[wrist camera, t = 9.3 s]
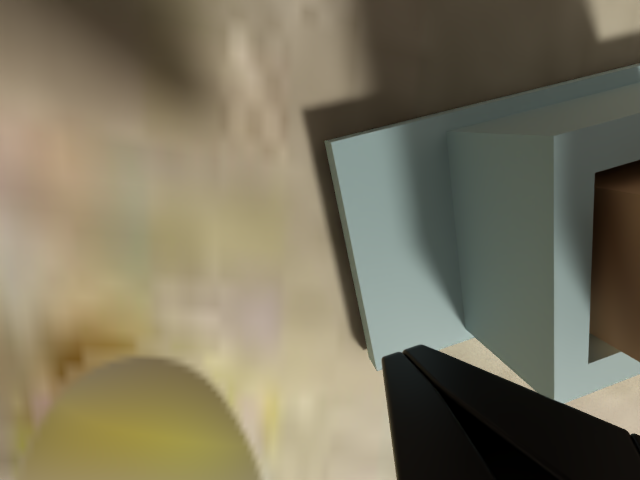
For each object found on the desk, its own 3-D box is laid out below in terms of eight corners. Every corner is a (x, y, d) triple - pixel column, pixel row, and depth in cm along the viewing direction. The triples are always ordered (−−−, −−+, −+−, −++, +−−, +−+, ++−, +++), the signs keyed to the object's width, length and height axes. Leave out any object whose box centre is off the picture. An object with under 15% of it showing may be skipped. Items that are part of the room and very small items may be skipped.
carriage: (324, 140, 11) (385, 153, 7) (702, 47, 13) (942, 9, 9) (369, 357, 14) (434, 468, 9) (677, 253, 16) (852, 304, 11)
